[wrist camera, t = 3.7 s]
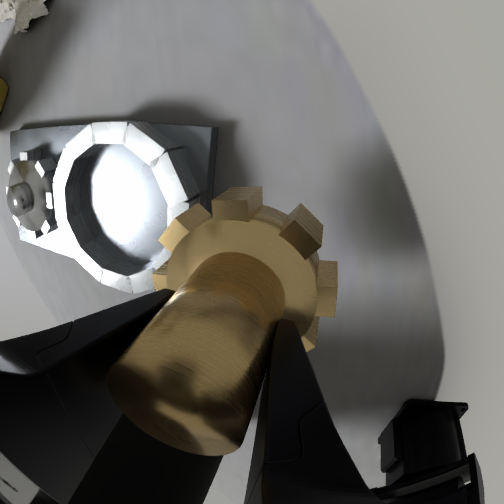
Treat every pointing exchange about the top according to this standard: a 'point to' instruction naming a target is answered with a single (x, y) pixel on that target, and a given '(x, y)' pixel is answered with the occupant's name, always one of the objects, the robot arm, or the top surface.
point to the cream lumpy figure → (22, 12)
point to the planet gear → (222, 319)
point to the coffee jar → (141, 472)
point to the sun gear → (32, 193)
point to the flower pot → (2, 92)
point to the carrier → (121, 192)
